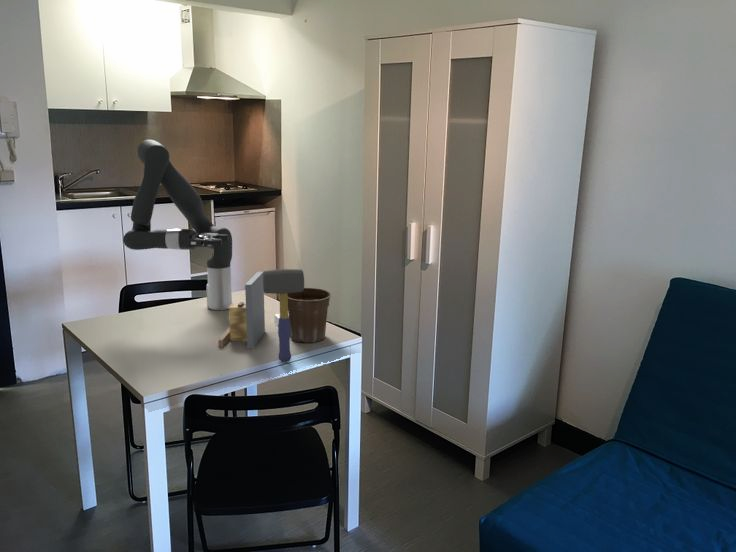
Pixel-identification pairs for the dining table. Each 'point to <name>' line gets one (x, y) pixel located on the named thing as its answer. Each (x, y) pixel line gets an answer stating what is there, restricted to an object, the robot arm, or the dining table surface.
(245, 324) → the ochre block
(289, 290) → the rubber mallet
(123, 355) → the dining table surface
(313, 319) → the plant pot
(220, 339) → the wall board
